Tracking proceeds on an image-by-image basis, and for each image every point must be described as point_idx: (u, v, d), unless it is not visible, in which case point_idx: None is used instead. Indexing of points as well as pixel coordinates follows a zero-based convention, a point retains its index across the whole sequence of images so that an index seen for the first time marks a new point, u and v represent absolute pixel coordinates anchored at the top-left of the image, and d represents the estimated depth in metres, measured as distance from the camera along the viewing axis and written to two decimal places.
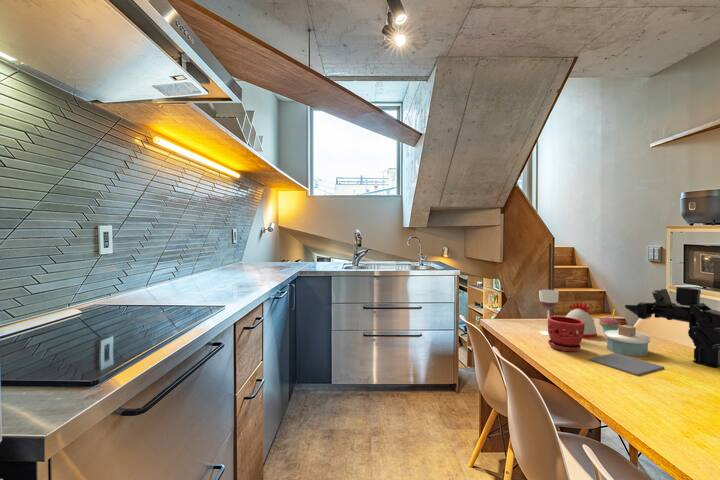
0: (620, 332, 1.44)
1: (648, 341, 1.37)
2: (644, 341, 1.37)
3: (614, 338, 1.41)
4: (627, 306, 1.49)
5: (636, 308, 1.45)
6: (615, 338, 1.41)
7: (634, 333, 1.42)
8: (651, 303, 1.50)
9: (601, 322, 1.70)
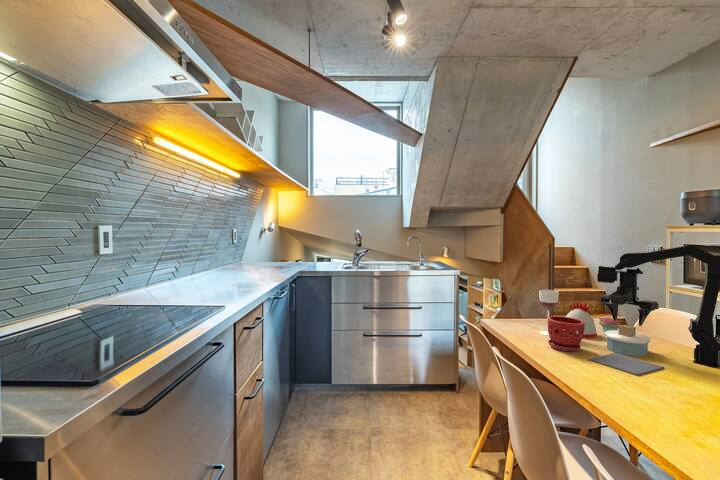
0: (620, 332, 1.44)
1: (648, 341, 1.37)
2: (644, 341, 1.37)
3: (614, 338, 1.41)
4: (641, 323, 1.39)
5: None
6: (615, 338, 1.41)
7: (634, 333, 1.42)
8: (612, 309, 1.48)
9: (601, 322, 1.70)
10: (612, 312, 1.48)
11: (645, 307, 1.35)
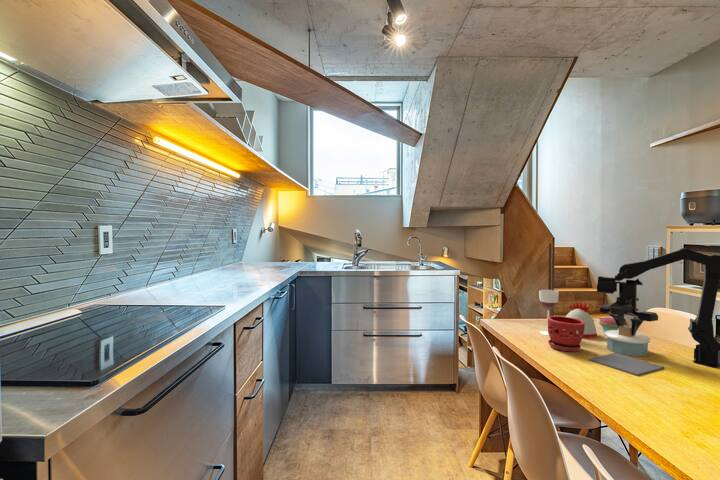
0: (620, 332, 1.44)
1: (648, 341, 1.37)
2: (644, 341, 1.37)
3: (614, 338, 1.41)
4: (634, 332, 1.41)
5: None
6: (615, 338, 1.41)
7: None
8: (618, 320, 1.45)
9: (601, 322, 1.70)
10: (618, 324, 1.46)
11: (645, 318, 1.35)
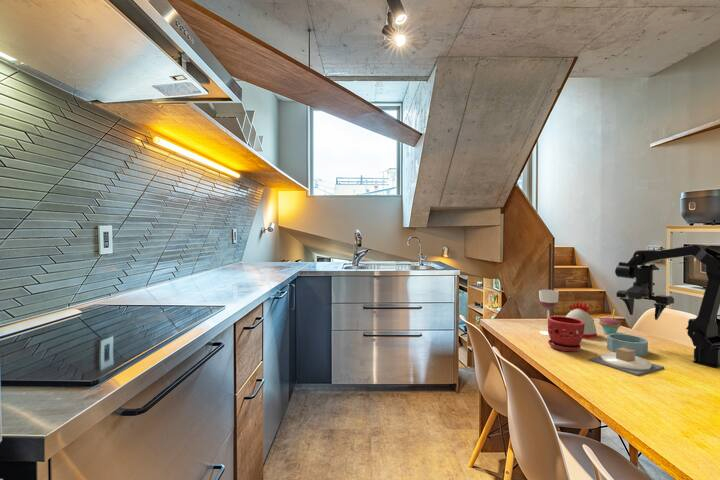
0: (618, 356, 1.29)
1: (649, 367, 1.22)
2: (645, 367, 1.22)
3: (611, 363, 1.26)
4: (657, 317, 1.45)
5: None
6: (612, 363, 1.26)
7: (633, 357, 1.27)
8: (629, 304, 1.54)
9: (601, 322, 1.70)
10: (628, 307, 1.54)
11: (661, 301, 1.41)
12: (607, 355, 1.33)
